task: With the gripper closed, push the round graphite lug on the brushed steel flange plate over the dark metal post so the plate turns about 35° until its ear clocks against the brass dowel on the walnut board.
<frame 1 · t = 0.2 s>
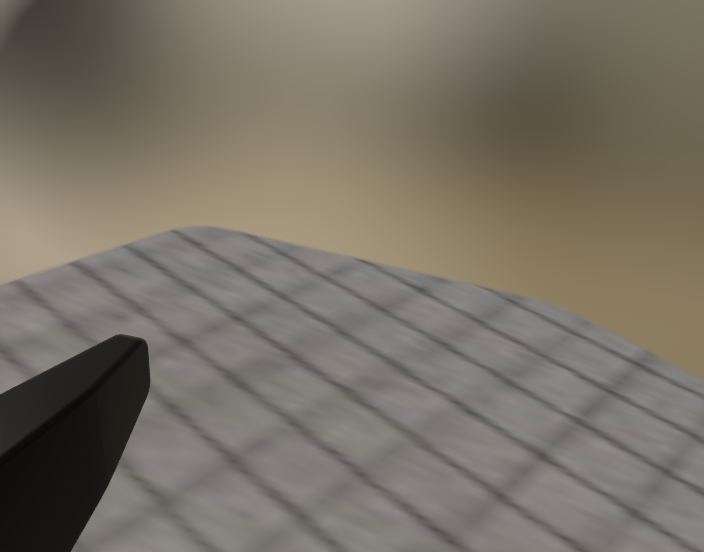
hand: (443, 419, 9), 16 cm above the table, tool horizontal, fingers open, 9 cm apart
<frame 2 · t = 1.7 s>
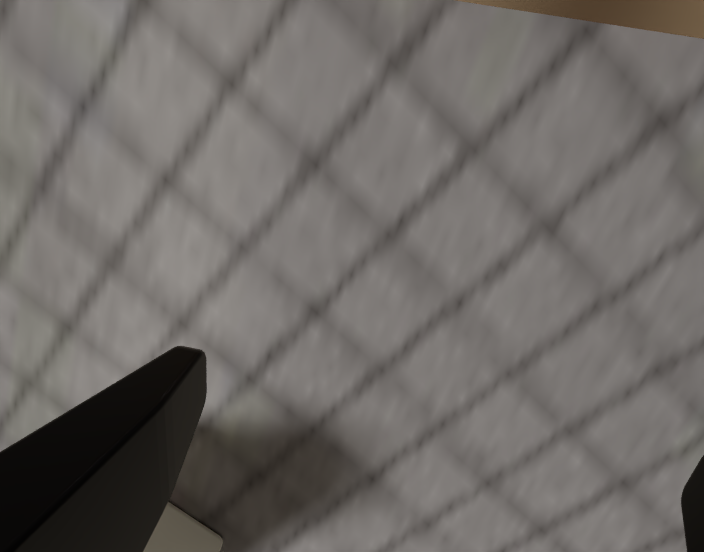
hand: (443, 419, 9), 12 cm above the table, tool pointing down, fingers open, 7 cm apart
medicine bottle: (135, 524, 33), on the table
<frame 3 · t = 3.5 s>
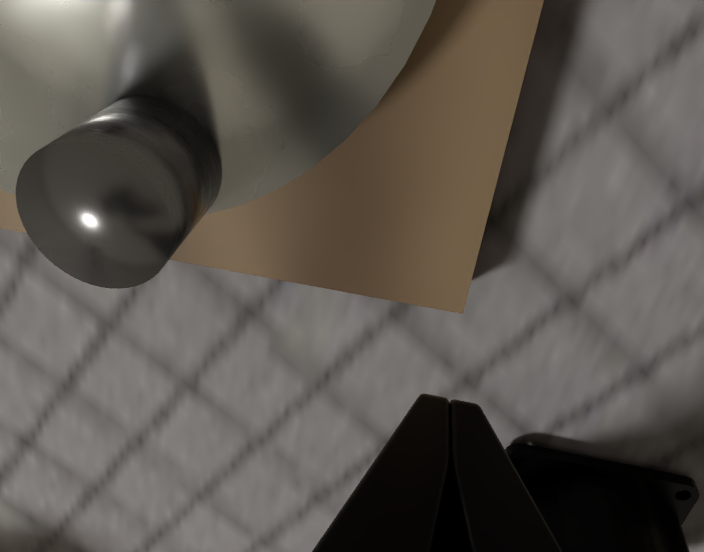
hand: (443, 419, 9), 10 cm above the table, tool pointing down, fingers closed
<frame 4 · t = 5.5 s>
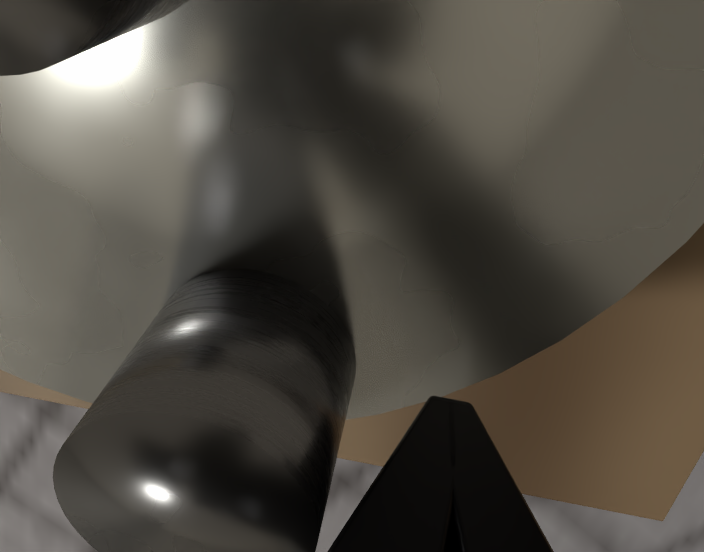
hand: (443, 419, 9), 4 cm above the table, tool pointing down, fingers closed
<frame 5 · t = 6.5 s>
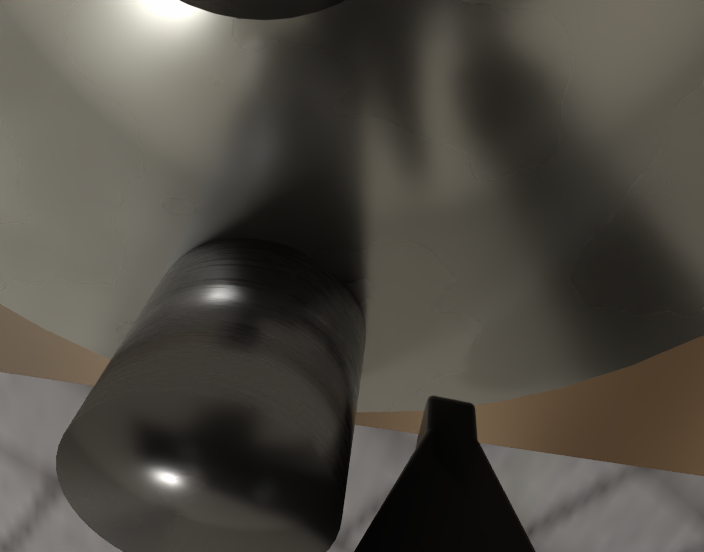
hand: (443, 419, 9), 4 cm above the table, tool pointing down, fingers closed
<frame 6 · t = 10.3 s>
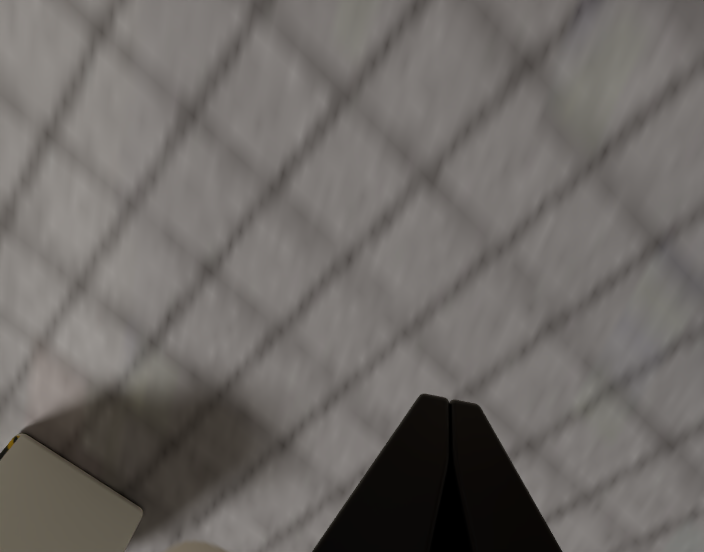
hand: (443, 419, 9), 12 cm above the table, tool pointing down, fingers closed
medicine bottle: (58, 497, 32), on the table
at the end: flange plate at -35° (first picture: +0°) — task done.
